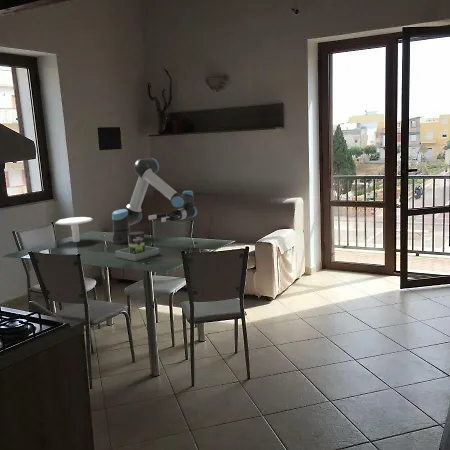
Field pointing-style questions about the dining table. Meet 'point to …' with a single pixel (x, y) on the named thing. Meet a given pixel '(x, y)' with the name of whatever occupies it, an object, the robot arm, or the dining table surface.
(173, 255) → the dining table surface
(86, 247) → the dining table surface
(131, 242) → the coffee can
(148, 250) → the tray
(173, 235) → the dining table surface
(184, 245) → the dining table surface
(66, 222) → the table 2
